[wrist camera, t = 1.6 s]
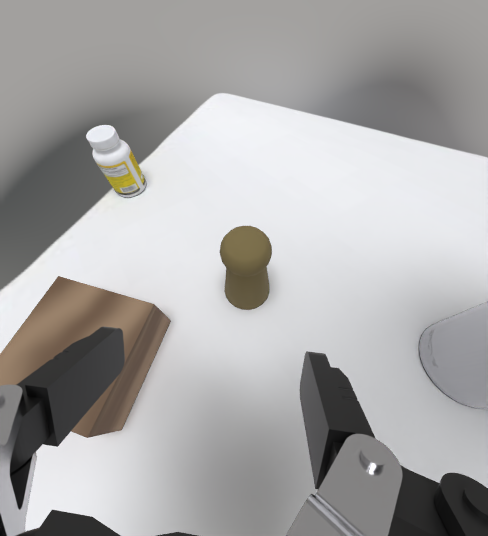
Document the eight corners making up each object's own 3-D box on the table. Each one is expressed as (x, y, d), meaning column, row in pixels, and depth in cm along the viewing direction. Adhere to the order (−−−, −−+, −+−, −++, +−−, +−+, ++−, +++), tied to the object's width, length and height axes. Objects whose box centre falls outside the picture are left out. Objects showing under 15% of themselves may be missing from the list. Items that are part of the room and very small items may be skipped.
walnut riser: (170, 320, 30) (154, 304, 25) (121, 430, 25) (87, 437, 20) (89, 296, 32) (58, 276, 27) (27, 392, 27) (-27, 390, 22)
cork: (218, 278, 33) (204, 228, 24) (257, 262, 34) (260, 208, 25) (234, 317, 30) (227, 278, 21) (277, 298, 32) (289, 254, 22)
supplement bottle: (129, 173, 44) (100, 118, 35) (153, 182, 43) (128, 127, 34) (109, 192, 42) (72, 138, 33) (133, 202, 40) (101, 149, 32)
